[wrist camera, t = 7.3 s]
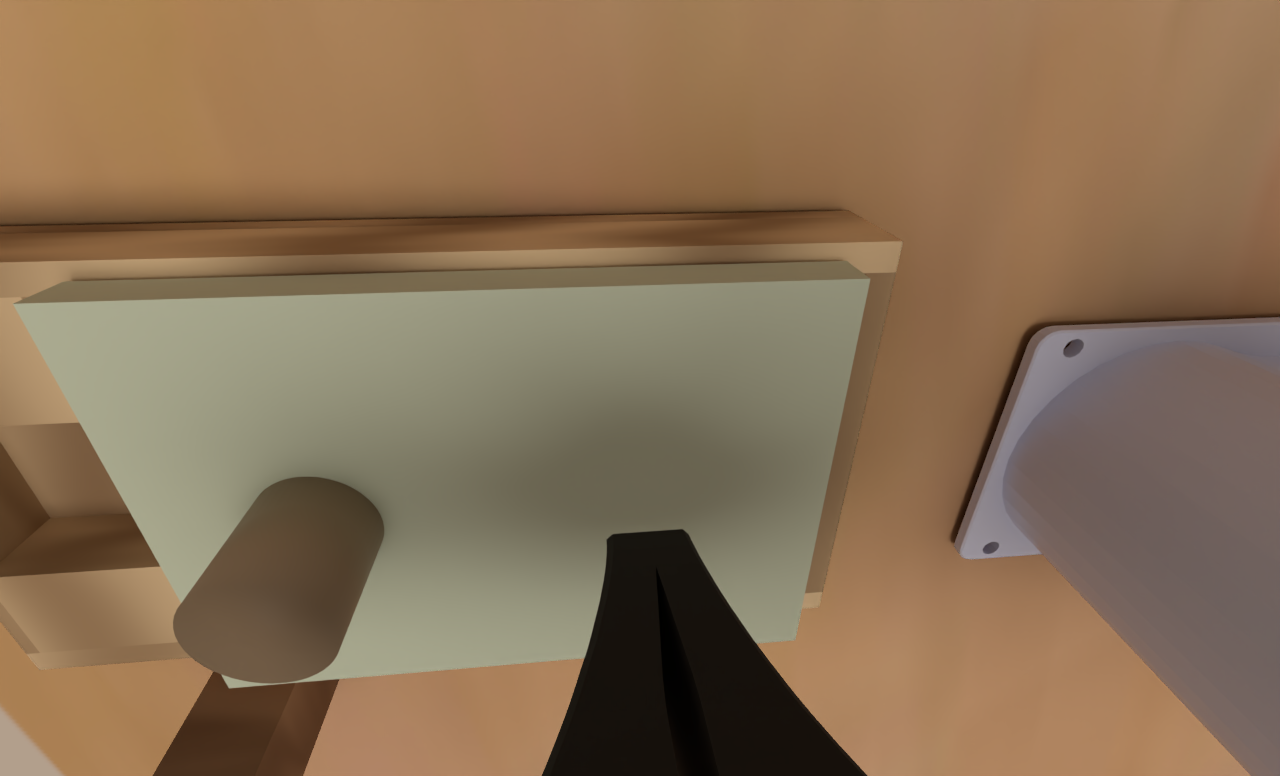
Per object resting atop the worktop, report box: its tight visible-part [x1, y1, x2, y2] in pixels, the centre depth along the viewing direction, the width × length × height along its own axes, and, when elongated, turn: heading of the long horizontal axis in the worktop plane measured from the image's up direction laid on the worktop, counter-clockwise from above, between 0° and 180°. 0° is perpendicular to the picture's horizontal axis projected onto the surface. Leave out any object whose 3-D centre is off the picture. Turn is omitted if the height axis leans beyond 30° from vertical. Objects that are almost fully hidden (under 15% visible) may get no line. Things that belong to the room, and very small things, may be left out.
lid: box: [13, 261, 870, 688], centre depth 11 cm, size 13×9×4 cm
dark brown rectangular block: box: [153, 672, 339, 776], centre depth 16 cm, size 2×2×6 cm
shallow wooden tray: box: [0, 211, 903, 670], centre depth 14 cm, size 20×10×2 cm, turn 89°
